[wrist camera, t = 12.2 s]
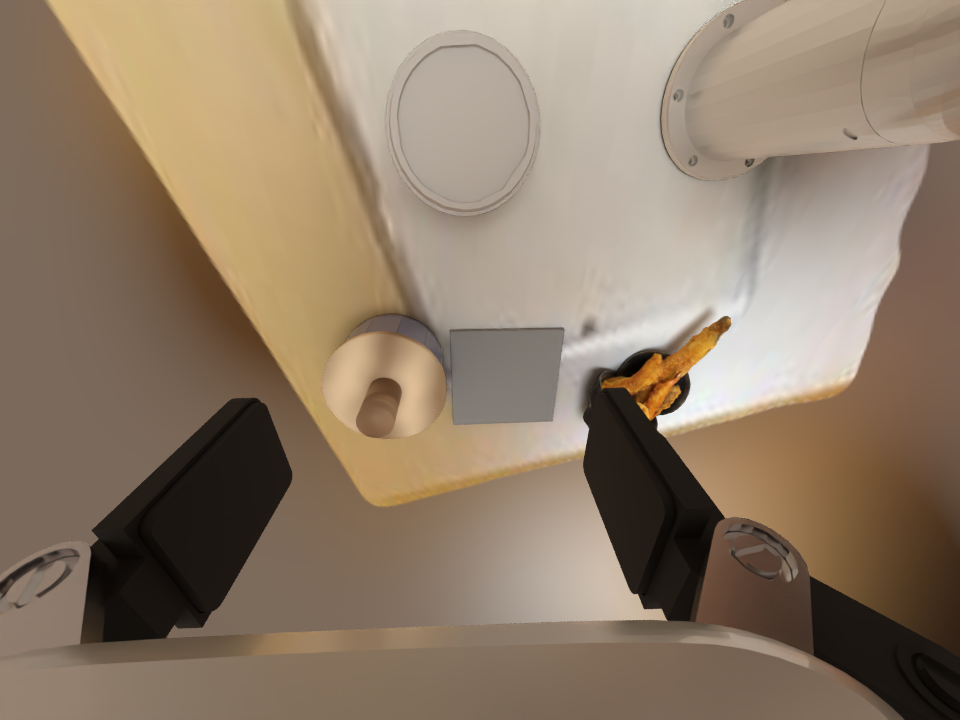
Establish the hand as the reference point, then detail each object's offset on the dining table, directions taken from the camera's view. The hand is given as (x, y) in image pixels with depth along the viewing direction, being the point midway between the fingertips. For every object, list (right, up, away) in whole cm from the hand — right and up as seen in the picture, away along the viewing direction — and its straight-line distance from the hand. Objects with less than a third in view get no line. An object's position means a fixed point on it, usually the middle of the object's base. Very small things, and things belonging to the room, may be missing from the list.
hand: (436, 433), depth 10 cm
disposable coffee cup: (0, +21, +21) cm, 30 cm away
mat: (+4, 0, +32) cm, 32 cm away
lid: (-8, -1, +25) cm, 26 cm away
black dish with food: (+21, +1, +33) cm, 39 cm away
